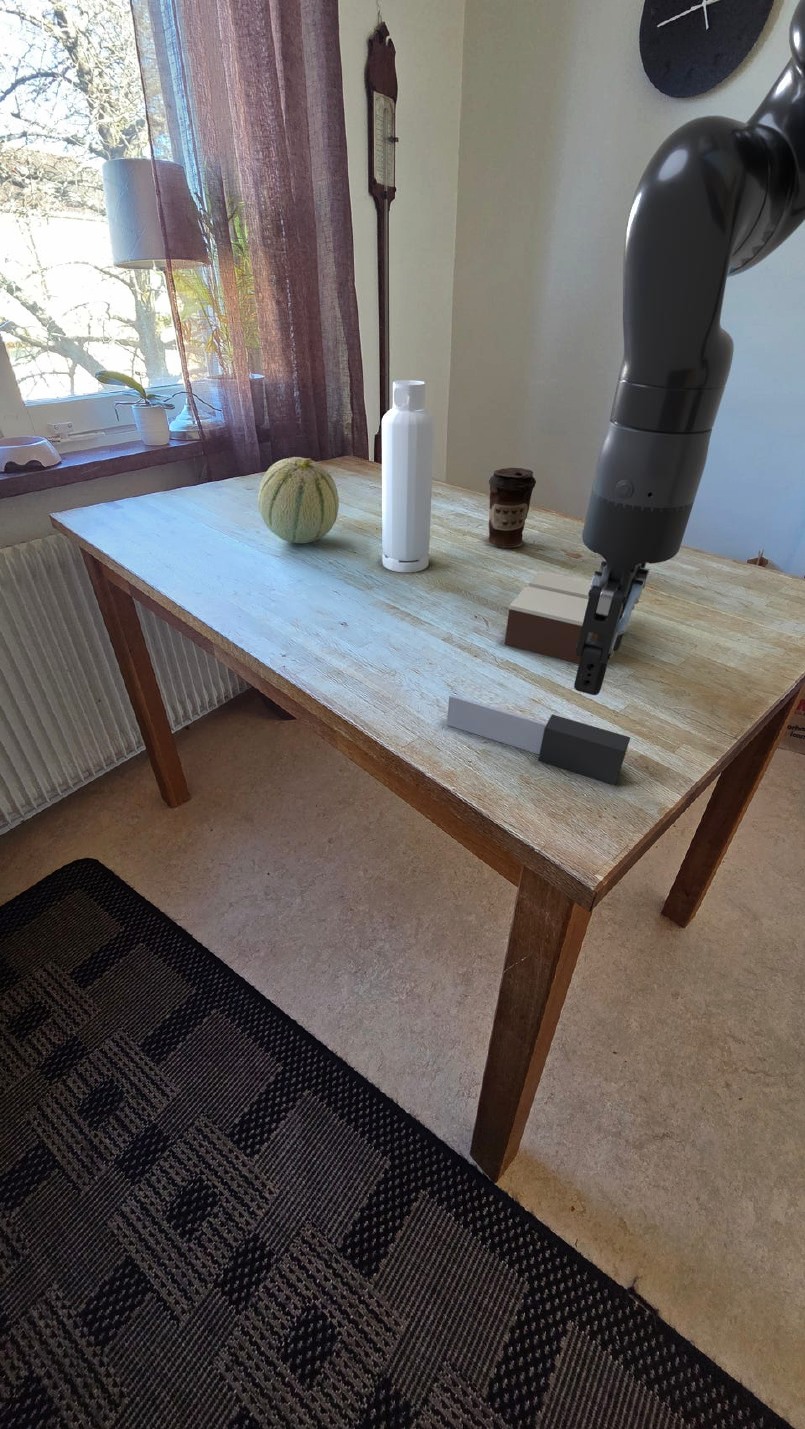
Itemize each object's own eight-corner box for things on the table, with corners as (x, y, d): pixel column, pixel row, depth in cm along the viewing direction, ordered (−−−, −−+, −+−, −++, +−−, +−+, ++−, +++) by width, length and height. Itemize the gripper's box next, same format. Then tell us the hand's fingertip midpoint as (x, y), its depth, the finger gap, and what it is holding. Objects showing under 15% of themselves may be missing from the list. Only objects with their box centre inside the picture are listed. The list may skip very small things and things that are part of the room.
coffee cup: (530, 552, 111) (541, 479, 103) (485, 551, 111) (492, 478, 103) (523, 535, 118) (533, 465, 110) (481, 534, 118) (487, 464, 110)
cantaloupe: (277, 524, 120) (268, 444, 111) (348, 529, 119) (345, 448, 110) (250, 552, 108) (238, 464, 100) (329, 558, 107) (324, 469, 98)
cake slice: (612, 625, 88) (622, 587, 85) (604, 640, 85) (614, 600, 81) (533, 607, 92) (539, 570, 89) (523, 620, 89) (528, 582, 85)
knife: (620, 770, 62) (630, 736, 60) (614, 786, 60) (625, 751, 58) (452, 717, 69) (454, 685, 67) (442, 730, 67) (445, 697, 65)
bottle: (437, 561, 106) (446, 382, 90) (410, 576, 101) (415, 388, 84) (400, 551, 110) (403, 377, 93) (373, 564, 105) (370, 382, 88)
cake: (603, 643, 84) (612, 604, 80) (591, 667, 79) (600, 626, 75) (520, 623, 88) (526, 585, 84) (504, 644, 83) (509, 605, 79)
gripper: (684, 524, 39) (624, 721, 49) (705, 473, 50) (651, 644, 59) (570, 505, 42) (535, 695, 52) (612, 460, 52) (576, 626, 62)
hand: (597, 668), depth 55 cm, fingers open, 8 cm apart
